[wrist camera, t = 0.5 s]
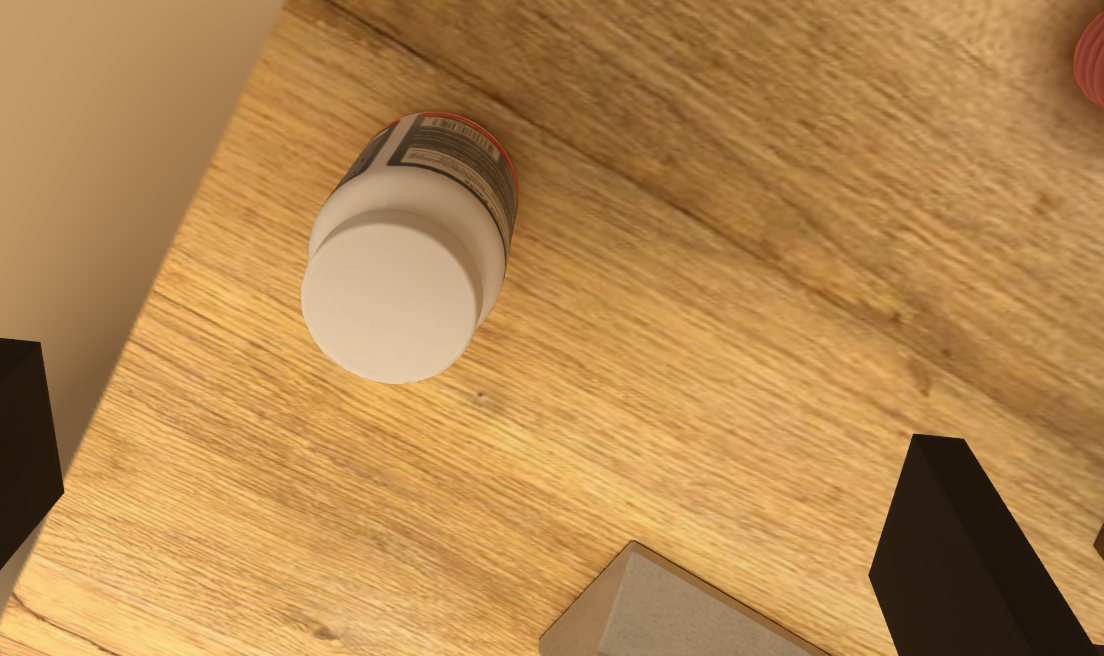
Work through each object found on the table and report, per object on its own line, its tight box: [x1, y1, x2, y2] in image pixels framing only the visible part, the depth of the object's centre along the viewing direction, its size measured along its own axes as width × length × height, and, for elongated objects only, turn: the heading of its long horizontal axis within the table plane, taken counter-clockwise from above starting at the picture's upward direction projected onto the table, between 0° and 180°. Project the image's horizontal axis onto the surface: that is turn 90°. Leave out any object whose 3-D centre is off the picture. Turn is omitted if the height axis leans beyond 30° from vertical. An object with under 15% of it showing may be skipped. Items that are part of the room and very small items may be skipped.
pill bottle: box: [301, 111, 518, 384], centre depth 29 cm, size 6×6×10 cm
